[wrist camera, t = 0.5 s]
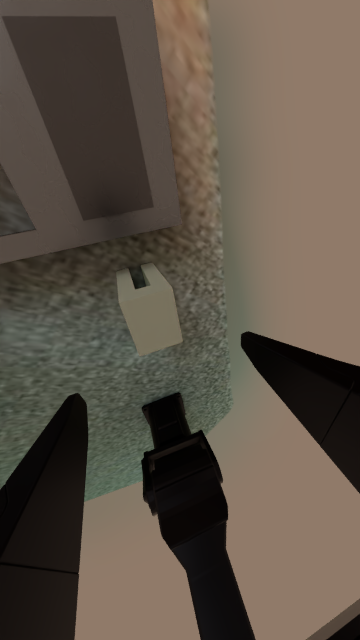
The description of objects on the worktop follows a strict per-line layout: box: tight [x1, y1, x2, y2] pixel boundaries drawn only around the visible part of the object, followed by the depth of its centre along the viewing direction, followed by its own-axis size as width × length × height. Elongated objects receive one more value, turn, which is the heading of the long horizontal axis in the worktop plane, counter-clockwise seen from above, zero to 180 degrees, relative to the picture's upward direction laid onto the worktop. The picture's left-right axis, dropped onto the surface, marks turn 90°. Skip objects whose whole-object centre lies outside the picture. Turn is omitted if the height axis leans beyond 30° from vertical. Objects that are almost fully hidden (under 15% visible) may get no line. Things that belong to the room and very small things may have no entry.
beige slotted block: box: [116, 262, 183, 356], centre depth 16 cm, size 5×4×8 cm
